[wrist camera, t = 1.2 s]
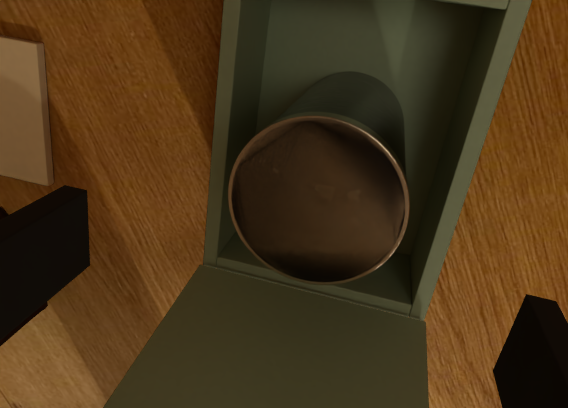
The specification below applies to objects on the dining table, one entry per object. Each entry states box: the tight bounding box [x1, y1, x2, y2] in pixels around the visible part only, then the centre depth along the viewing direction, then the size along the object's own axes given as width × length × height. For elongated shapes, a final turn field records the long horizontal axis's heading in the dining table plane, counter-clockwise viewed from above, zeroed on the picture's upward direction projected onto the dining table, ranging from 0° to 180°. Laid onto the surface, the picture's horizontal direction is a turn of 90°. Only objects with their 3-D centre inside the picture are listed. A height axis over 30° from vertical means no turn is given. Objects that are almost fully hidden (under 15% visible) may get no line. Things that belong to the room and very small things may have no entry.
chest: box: [203, 0, 532, 321], centre depth 28 cm, size 18×14×7 cm
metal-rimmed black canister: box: [228, 71, 410, 285], centre depth 24 cm, size 7×7×13 cm
